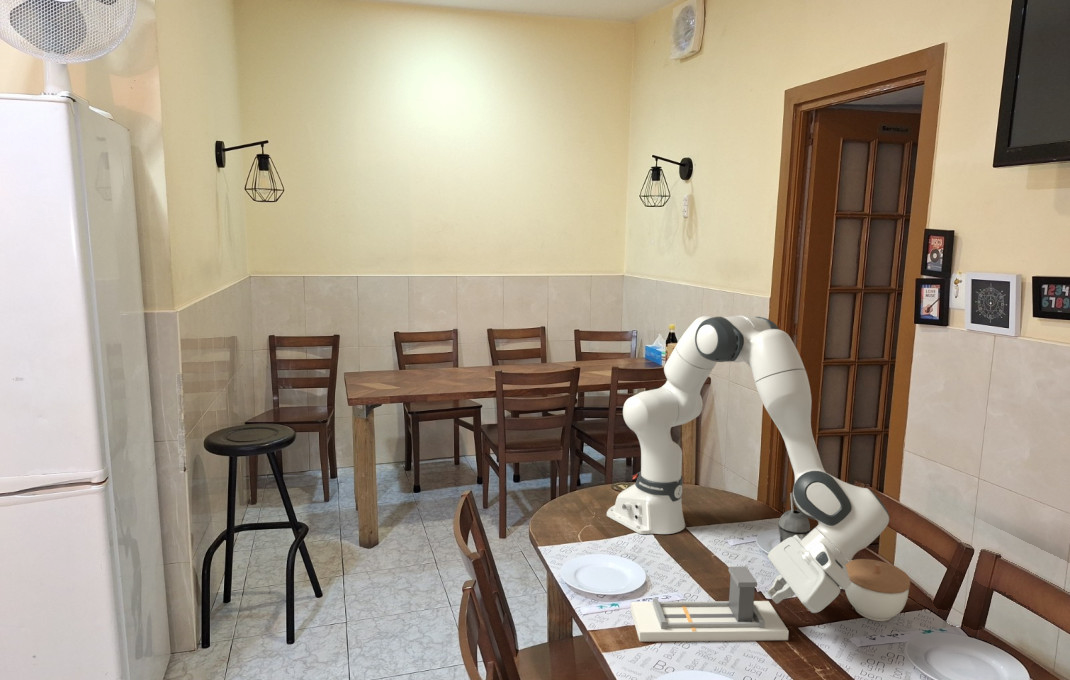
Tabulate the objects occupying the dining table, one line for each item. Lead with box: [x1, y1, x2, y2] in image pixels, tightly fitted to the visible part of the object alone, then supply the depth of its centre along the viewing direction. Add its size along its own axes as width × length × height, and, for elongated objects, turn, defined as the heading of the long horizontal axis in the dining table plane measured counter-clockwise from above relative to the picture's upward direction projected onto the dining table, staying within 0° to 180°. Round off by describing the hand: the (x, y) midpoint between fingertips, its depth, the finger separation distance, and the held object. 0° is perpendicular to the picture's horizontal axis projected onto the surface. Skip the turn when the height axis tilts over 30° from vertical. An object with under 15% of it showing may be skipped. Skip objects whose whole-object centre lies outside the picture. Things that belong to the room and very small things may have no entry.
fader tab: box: [728, 566, 758, 622], centre depth 138 cm, size 4×6×9 cm, turn 1°
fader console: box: [630, 597, 789, 643], centre depth 139 cm, size 30×11×4 cm, turn 91°
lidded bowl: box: [844, 558, 911, 622], centre depth 143 cm, size 13×13×11 cm
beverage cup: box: [777, 492, 812, 544], centre depth 159 cm, size 7×7×20 cm
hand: (771, 598), depth 139 cm, fingers closed
